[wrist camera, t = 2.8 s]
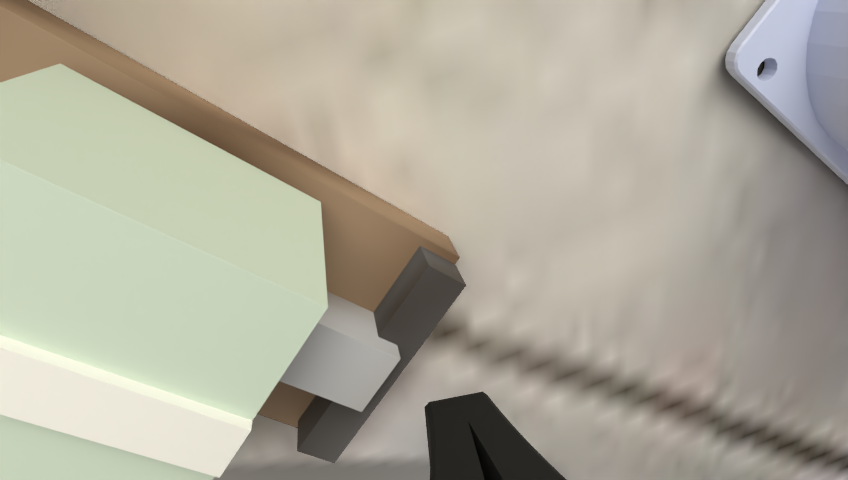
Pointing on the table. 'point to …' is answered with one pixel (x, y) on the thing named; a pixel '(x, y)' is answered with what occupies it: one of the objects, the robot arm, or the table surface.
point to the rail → (342, 234)
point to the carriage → (139, 288)
